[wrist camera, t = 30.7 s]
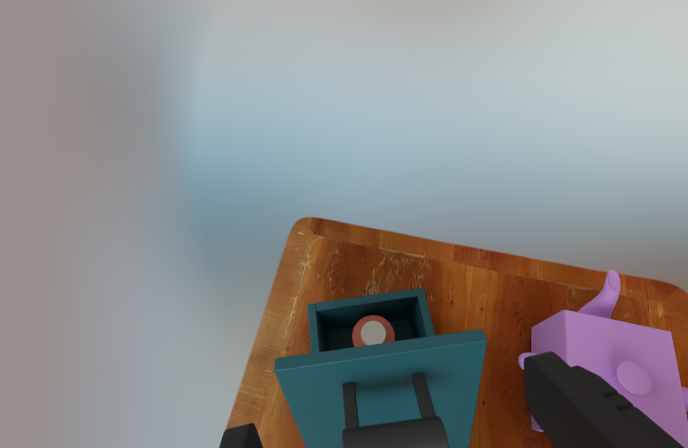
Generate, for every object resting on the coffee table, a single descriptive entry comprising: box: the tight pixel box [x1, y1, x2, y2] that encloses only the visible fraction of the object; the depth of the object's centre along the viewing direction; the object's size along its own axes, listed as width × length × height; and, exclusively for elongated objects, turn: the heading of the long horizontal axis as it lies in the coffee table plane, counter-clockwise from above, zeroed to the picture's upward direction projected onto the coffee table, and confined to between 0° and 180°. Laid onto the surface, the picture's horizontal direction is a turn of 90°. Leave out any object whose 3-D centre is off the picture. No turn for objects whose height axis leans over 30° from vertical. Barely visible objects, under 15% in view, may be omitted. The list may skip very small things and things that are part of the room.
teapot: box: [518, 270, 688, 448], centre depth 33 cm, size 15×13×11 cm
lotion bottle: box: [352, 315, 395, 347], centre depth 36 cm, size 4×4×8 cm
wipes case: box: [308, 288, 436, 353], centre depth 35 cm, size 14×12×10 cm
